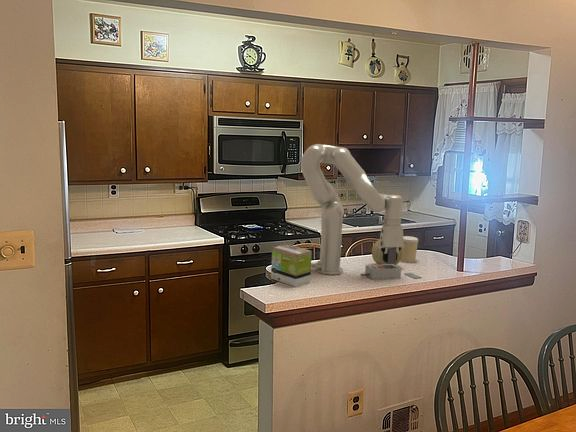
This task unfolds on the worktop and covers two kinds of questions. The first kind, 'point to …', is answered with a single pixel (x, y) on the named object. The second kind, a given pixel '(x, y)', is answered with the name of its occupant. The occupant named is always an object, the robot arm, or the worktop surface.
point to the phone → (412, 275)
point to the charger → (391, 256)
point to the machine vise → (382, 271)
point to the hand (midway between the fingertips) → (389, 260)
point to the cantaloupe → (378, 254)
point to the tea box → (291, 265)
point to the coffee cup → (409, 249)
